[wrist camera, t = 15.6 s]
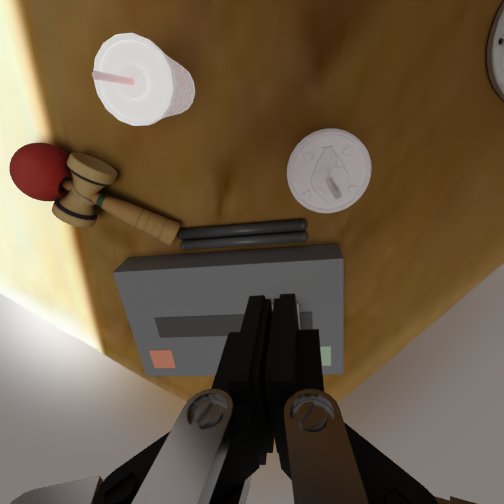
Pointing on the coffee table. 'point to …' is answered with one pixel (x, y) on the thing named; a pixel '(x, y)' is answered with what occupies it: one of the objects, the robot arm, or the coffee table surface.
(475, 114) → the coffee table surface
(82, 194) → the kendama
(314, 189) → the smoothie
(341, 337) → the switch panel
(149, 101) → the beverage cup
